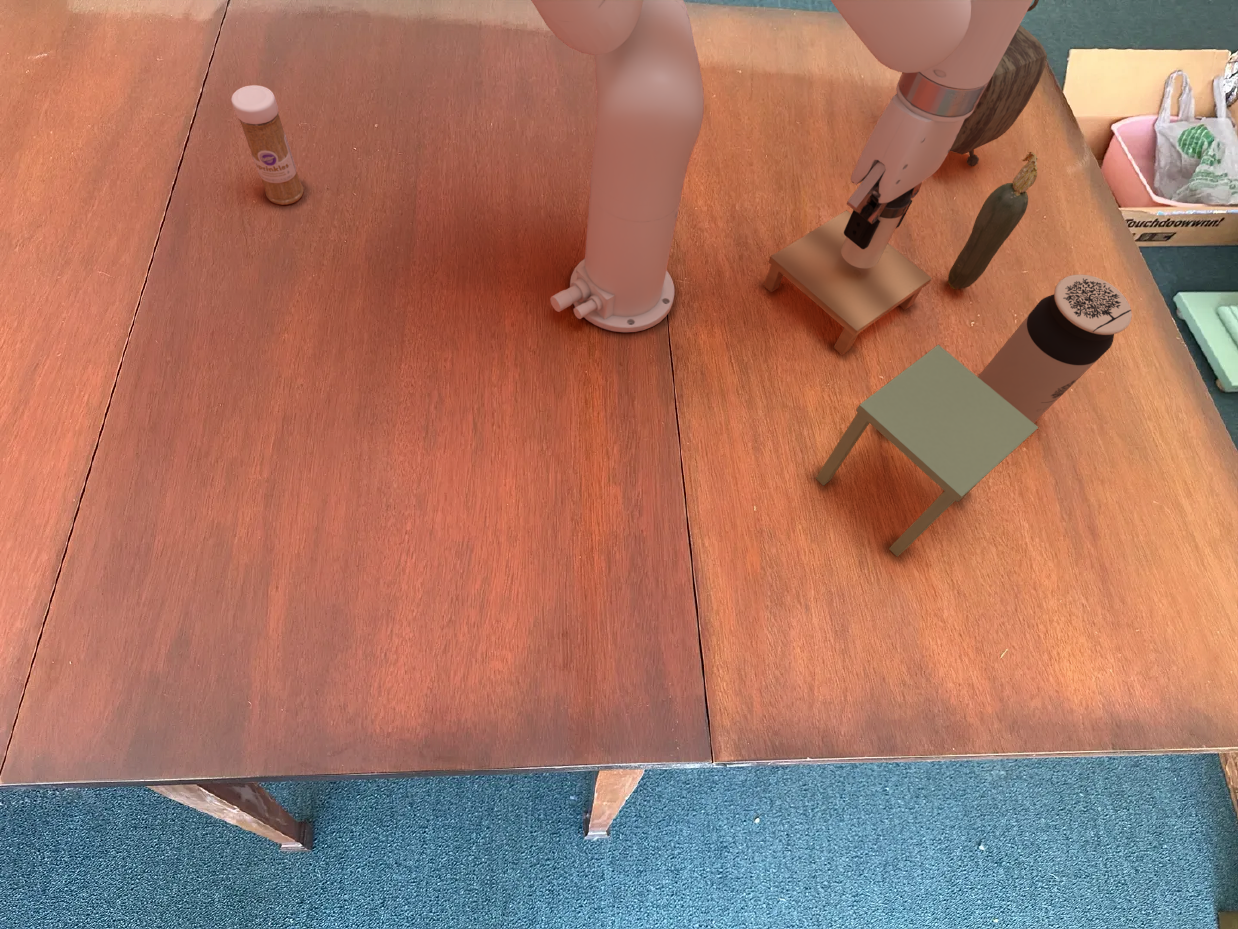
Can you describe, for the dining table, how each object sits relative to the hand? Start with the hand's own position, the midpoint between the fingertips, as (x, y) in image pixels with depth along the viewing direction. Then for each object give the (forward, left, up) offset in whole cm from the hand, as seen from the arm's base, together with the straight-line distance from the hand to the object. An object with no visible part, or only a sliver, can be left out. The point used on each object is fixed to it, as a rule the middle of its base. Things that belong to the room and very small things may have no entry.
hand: (871, 229), depth 88 cm
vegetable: (+13, -8, -11) cm, 19 cm away
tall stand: (-16, -22, -11) cm, 29 cm away
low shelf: (0, 0, -11) cm, 11 cm away
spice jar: (0, 0, -4) cm, 4 cm away
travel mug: (+3, -23, -11) cm, 26 cm away
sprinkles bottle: (-46, +53, -11) cm, 71 cm away
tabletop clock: (+33, +11, -11) cm, 36 cm away
